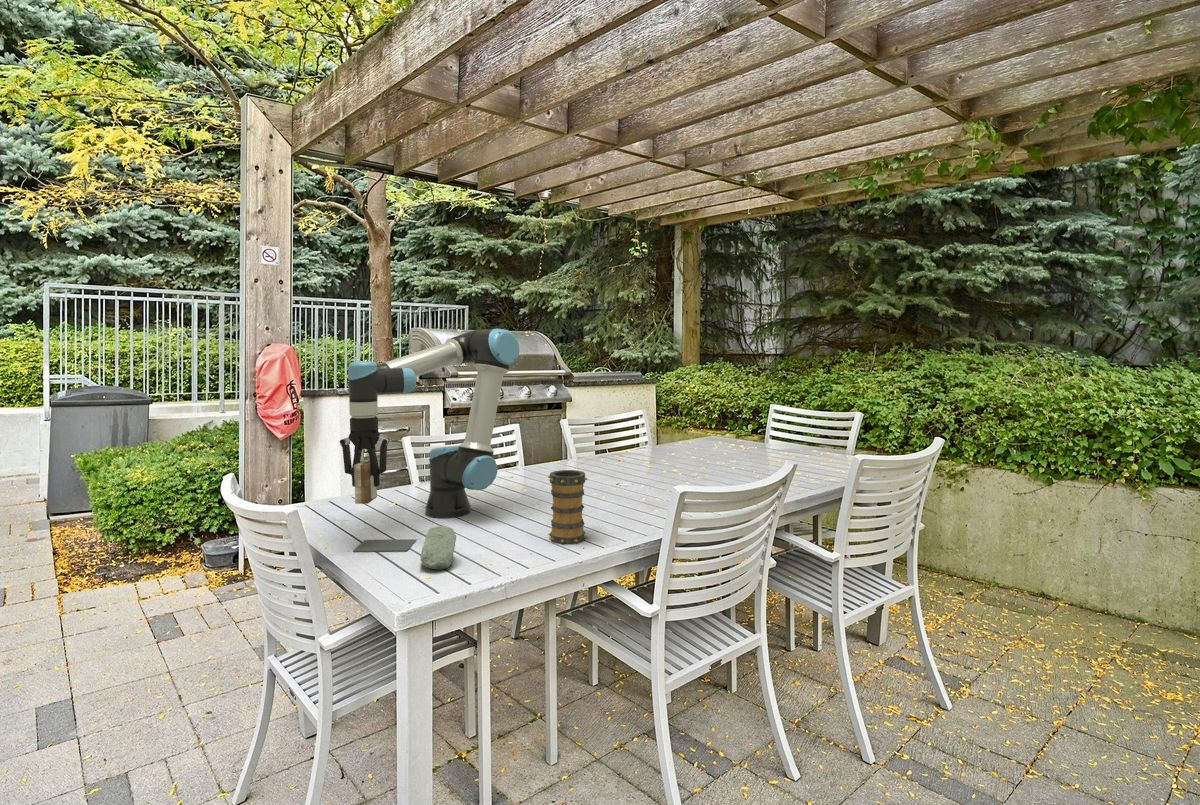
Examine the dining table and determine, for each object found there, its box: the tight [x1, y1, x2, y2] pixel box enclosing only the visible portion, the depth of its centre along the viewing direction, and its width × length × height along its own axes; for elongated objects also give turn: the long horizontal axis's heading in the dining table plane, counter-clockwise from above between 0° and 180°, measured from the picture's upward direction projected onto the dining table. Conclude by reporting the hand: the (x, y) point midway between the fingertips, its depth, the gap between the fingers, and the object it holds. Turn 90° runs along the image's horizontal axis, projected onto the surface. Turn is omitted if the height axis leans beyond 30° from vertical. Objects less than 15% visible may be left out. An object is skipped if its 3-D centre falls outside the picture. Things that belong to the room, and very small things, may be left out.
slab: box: [354, 459, 378, 505], centre depth 178 cm, size 4×8×11 cm, turn 2°
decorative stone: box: [420, 524, 457, 570], centre depth 166 cm, size 13×11×10 cm
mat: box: [352, 538, 417, 553], centre depth 180 cm, size 15×10×1 cm, turn 92°
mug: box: [547, 469, 589, 545], centre depth 189 cm, size 13×17×20 cm
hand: (366, 497), depth 179 cm, fingers closed on slab, 3 cm apart
